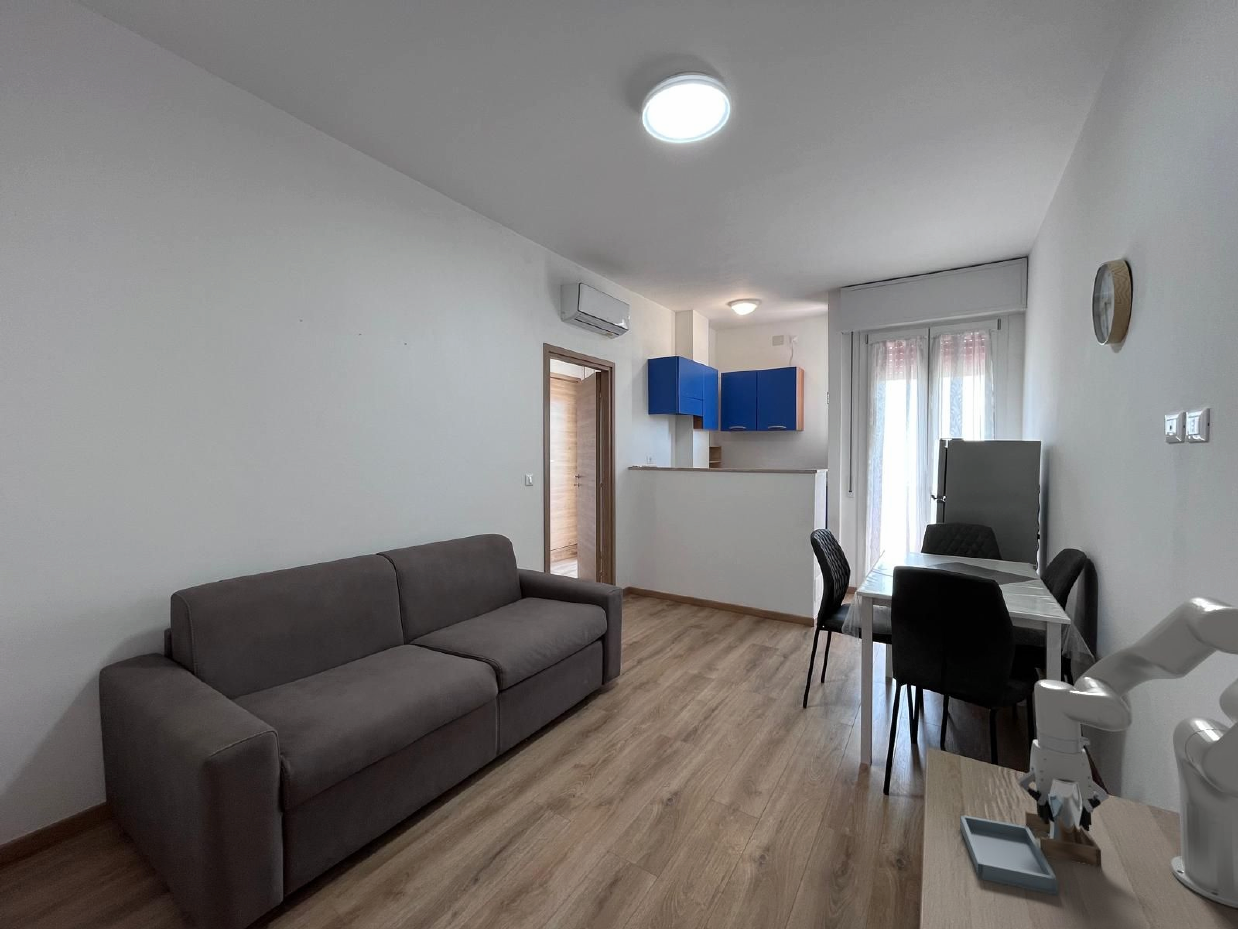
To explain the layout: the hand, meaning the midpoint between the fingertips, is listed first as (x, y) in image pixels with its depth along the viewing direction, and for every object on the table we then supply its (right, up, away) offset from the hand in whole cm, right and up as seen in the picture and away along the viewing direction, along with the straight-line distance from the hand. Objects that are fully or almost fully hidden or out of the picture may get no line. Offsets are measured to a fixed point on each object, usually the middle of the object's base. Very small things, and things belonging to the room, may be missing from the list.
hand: (1064, 823), depth 116 cm
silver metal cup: (0, -5, 0) cm, 5 cm away
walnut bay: (0, -5, 0) cm, 5 cm away
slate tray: (-15, -5, -3) cm, 16 cm away
